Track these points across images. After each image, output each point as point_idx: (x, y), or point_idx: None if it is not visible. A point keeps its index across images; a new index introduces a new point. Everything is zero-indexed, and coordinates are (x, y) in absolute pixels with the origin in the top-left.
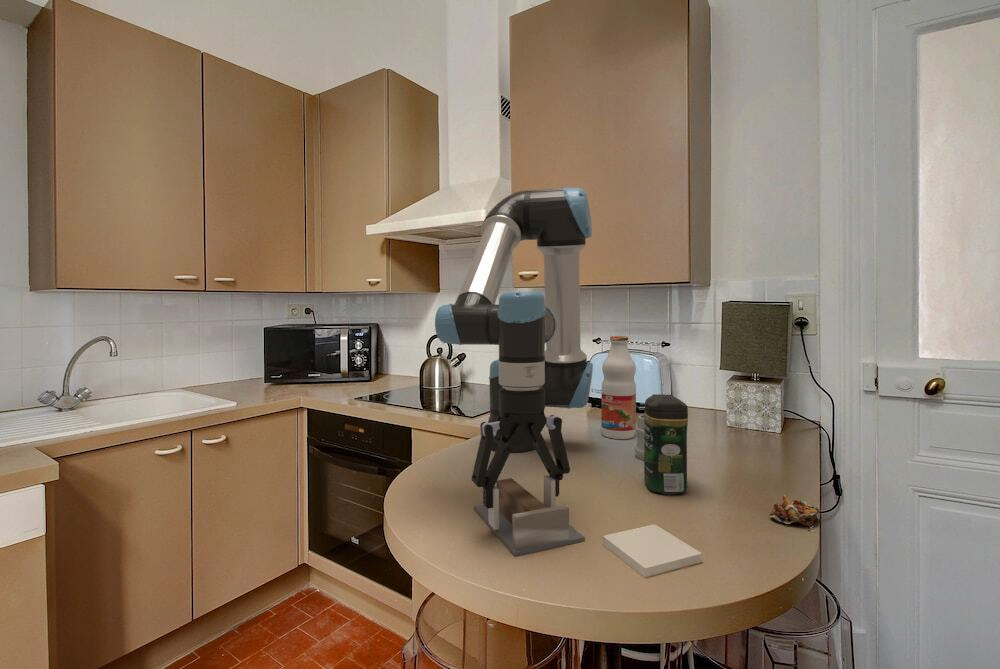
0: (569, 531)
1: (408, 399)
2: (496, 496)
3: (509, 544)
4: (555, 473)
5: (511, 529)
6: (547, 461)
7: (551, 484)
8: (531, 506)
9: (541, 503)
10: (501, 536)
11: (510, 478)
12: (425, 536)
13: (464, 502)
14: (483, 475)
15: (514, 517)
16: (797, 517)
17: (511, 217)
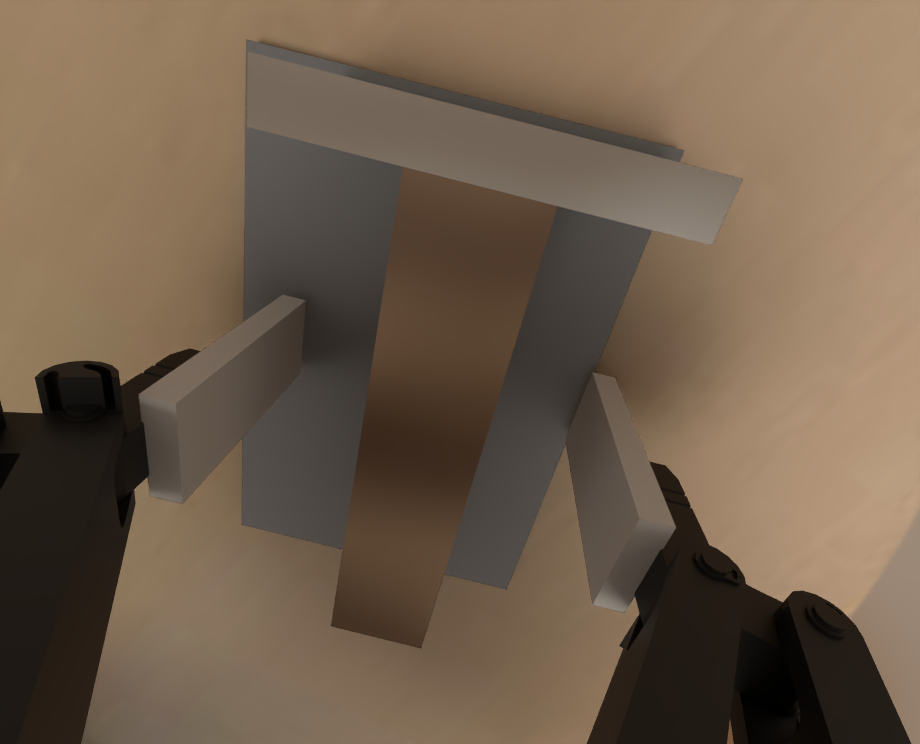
0: (286, 154)
1: None
2: (647, 485)
3: (639, 239)
4: (90, 428)
5: (521, 353)
6: (67, 546)
7: (192, 388)
8: (492, 269)
9: (395, 265)
10: (607, 329)
11: (338, 627)
12: (814, 528)
13: (498, 629)
14: (838, 684)
15: (726, 203)
16: None
17: None
